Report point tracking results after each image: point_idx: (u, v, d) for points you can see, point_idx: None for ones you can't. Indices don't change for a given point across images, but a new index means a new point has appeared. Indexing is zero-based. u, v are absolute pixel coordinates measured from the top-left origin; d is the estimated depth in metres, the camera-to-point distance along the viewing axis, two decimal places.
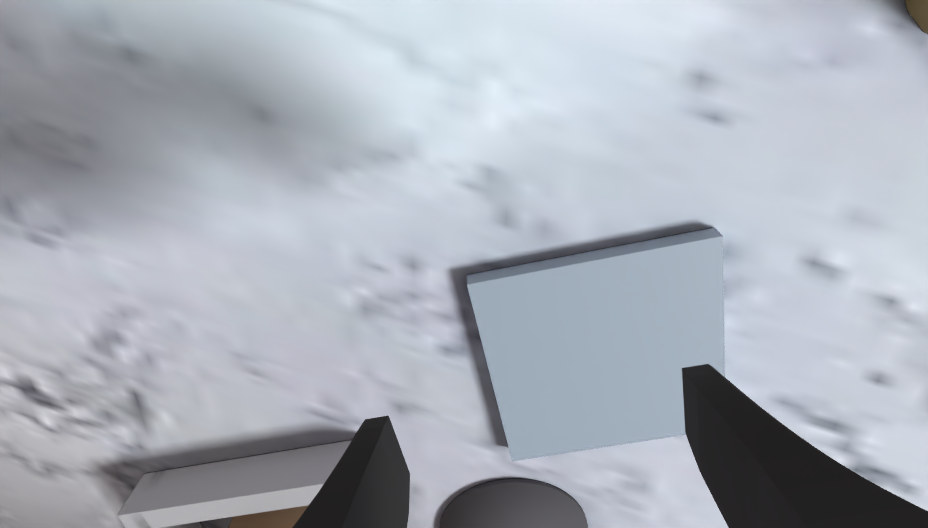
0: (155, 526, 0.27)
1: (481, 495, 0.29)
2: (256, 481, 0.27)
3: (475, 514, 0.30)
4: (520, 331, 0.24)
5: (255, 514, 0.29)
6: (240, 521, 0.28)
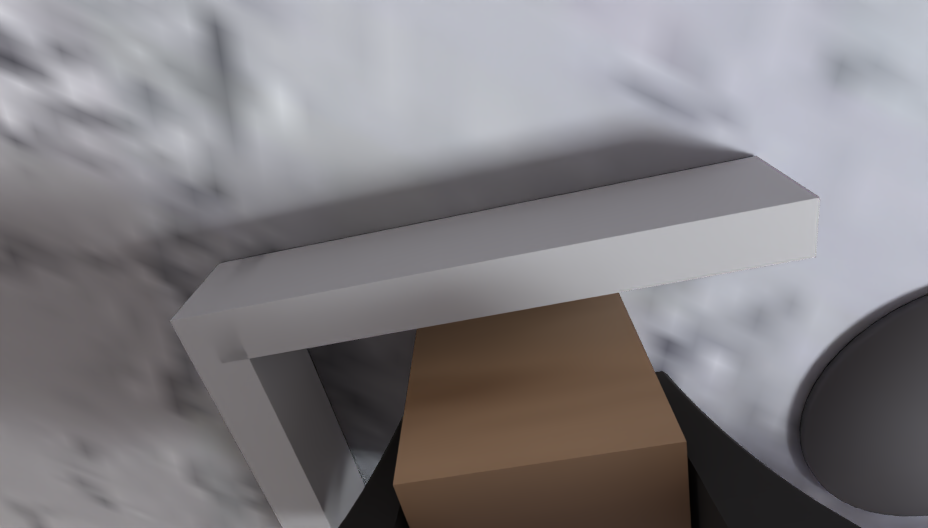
0: (257, 352, 0.12)
1: None
2: (502, 239, 0.11)
3: (909, 360, 0.14)
4: None
5: (464, 348, 0.13)
6: (433, 361, 0.13)
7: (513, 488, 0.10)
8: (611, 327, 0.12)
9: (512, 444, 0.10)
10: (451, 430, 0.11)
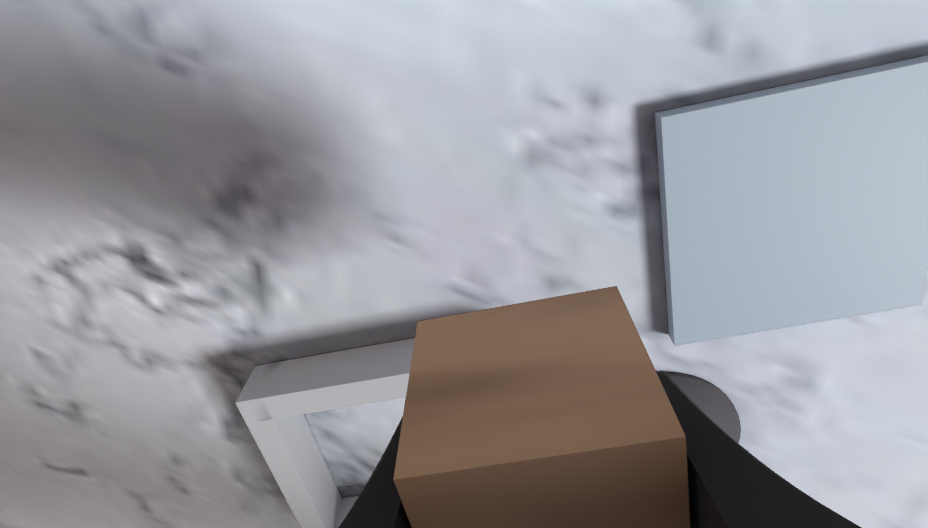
0: (276, 416, 0.24)
1: None
2: (392, 365, 0.24)
3: None
4: (712, 179, 0.21)
5: (465, 344, 0.13)
6: (433, 356, 0.13)
7: (513, 483, 0.10)
8: (611, 324, 0.12)
9: (513, 439, 0.10)
10: (451, 425, 0.11)
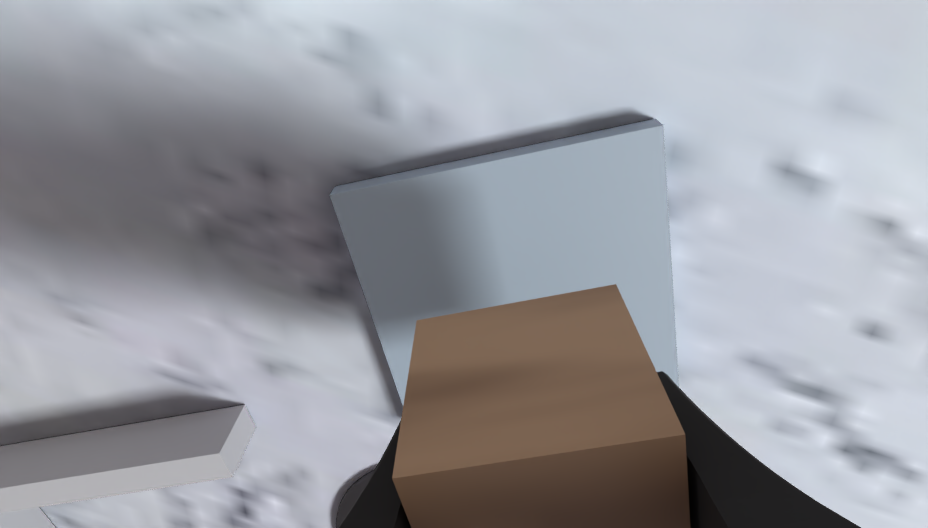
0: None
1: None
2: (88, 460, 0.21)
3: None
4: (406, 261, 0.18)
5: (464, 343, 0.13)
6: (432, 356, 0.13)
7: (512, 481, 0.10)
8: (610, 322, 0.12)
9: (512, 438, 0.10)
10: (450, 423, 0.11)
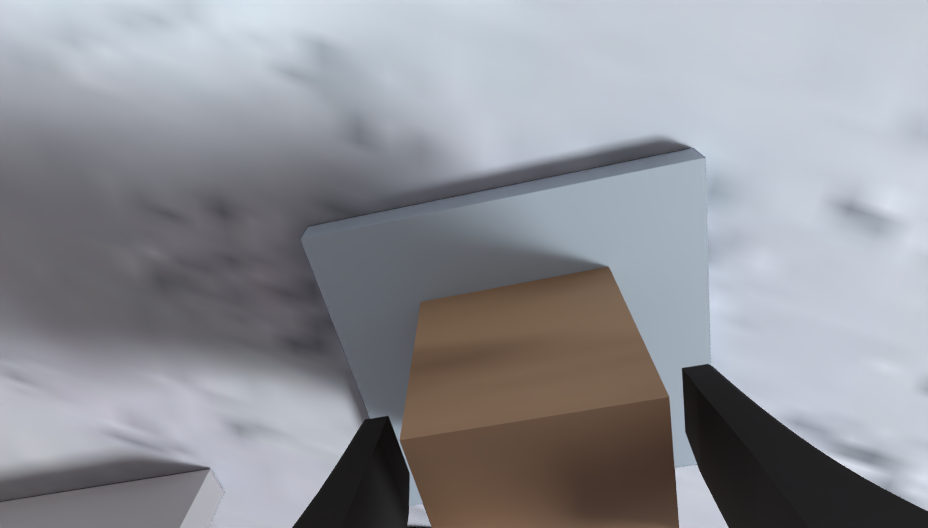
0: None
1: None
2: None
3: None
4: (394, 315, 0.15)
5: (465, 321, 0.14)
6: (436, 333, 0.14)
7: (510, 443, 0.11)
8: (603, 300, 0.13)
9: (510, 403, 0.11)
10: (453, 392, 0.12)
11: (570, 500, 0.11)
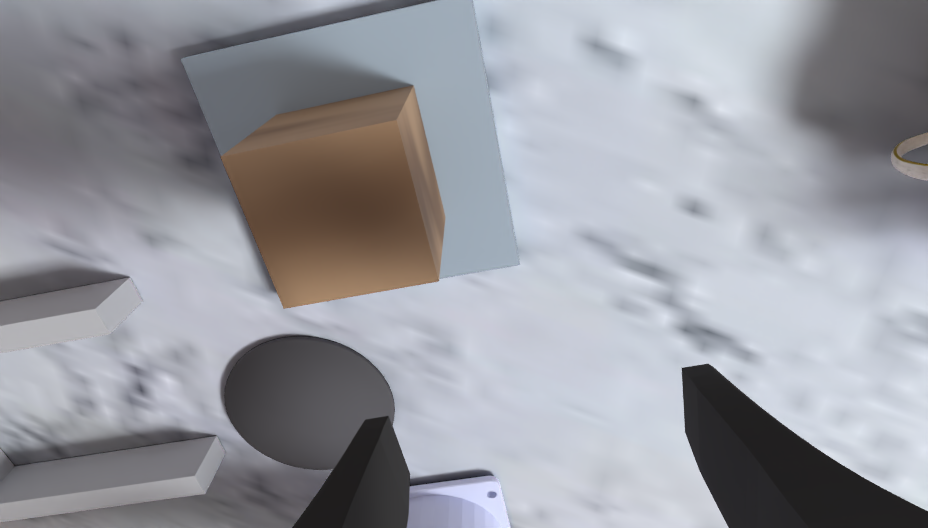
0: None
1: (262, 355, 0.25)
2: None
3: (261, 380, 0.26)
4: (257, 126, 0.20)
5: (299, 116, 0.19)
6: (276, 123, 0.18)
7: (296, 160, 0.16)
8: (395, 96, 0.18)
9: (299, 136, 0.16)
10: (268, 138, 0.16)
11: (347, 212, 0.16)
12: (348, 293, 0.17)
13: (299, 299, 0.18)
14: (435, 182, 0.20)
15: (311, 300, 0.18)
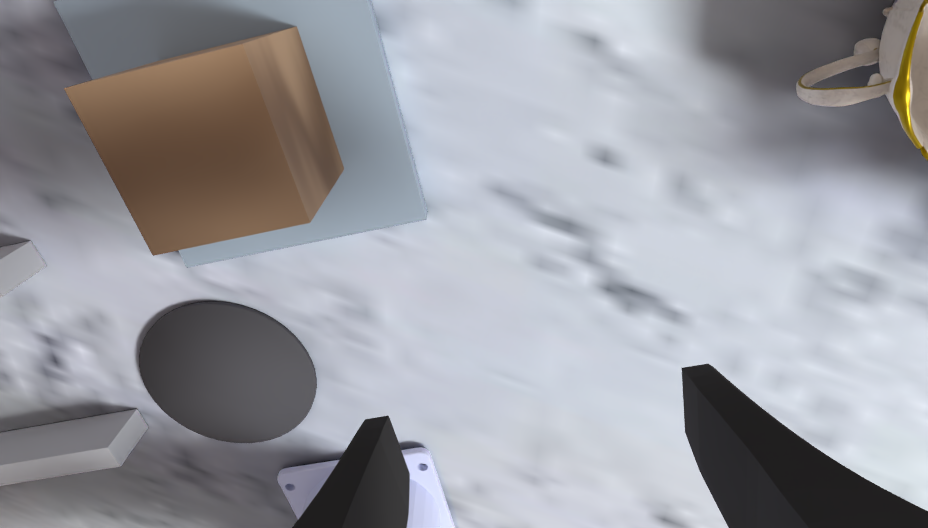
0: None
1: (174, 322, 0.25)
2: None
3: (175, 348, 0.25)
4: None
5: (173, 58, 0.18)
6: (147, 64, 0.18)
7: (144, 90, 0.15)
8: (268, 34, 0.17)
9: (149, 66, 0.15)
10: (122, 72, 0.16)
11: (204, 148, 0.15)
12: (218, 237, 0.17)
13: (167, 245, 0.17)
14: (327, 130, 0.20)
15: (180, 246, 0.17)
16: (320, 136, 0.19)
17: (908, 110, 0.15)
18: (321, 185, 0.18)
